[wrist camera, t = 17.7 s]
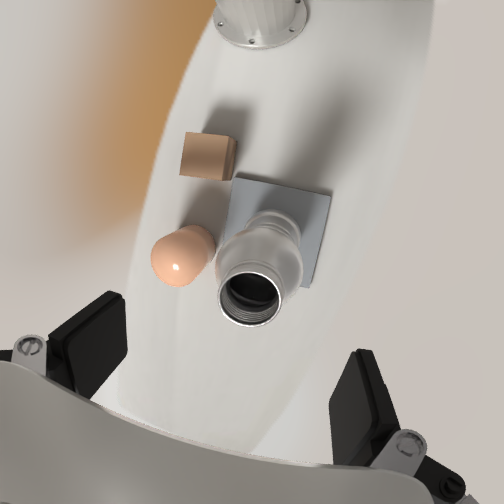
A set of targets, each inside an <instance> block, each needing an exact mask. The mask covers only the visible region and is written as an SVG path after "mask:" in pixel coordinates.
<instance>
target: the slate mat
mask: <svg viewBox="0 0 504 504" xmlns="http://www.w3.org/2000/svg"><path fill="white" fill-rule="evenodd" d="M330 199H331V196H327V195H322V194H318V193H314V192H309V191H304V190H300V189H295V188H290V187H285V186H280V185H275V184H270V183H265V182H259V181H254V180H248V179H243V178H237V177H234V178H233V184H232V190H231V196H230V202H229V208H228V214H227V220H226V226H225V232H224V239H223V245H224V243H225V242H226V241H227V240H228V239H229V238H231V237H232V236H233V235H235V234H236V233H238V232H240V231H242V230H244V227H245V225H246V223H247V221H248V220H249V219H250V218H251V217H252V216H253V215H254V214H256V213H258V212H260V211H262V210H266V209H277V210H281V211H284V212H286V213H288V214H289V215H290V216H292V217H293V218H294V219H295V221H296V222H297V224H298V226H299V228H300V232H301V241H300V245H299V248H298V250H299V252H300V254H301V257H302V261H303V269H304V273H303V279H302V282H301V284H300V287H305V288H309V287H310V283H311V279H312V276H313V272H314V268H315V264H316V260H317V256H318V252H319V248H320V244H321V239H322V235H323V231H324V226H325V222H326V218H327V213H328V208H329V204H330ZM223 245H222V246H223Z"/></svg>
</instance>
